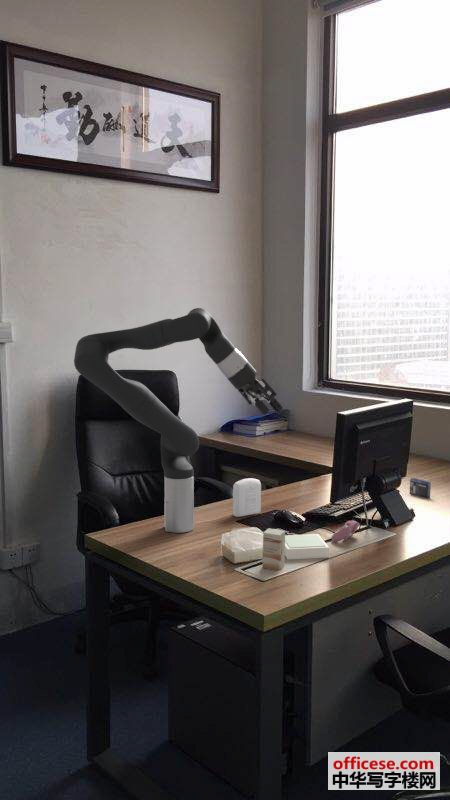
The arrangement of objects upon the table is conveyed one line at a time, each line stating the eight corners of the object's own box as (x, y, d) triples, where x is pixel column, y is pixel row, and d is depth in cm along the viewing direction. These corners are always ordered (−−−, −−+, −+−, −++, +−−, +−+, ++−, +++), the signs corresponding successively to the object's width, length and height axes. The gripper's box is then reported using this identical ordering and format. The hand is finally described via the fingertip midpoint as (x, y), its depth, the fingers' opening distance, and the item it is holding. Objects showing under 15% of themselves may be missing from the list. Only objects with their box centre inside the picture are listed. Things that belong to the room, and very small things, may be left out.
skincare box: (261, 568, 197) (262, 532, 196) (267, 562, 201) (267, 527, 199) (279, 571, 195) (280, 534, 193) (285, 565, 199) (285, 530, 197)
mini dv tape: (409, 493, 274) (410, 478, 273) (412, 493, 275) (412, 477, 274) (427, 498, 267) (428, 482, 266) (430, 497, 268) (430, 481, 267)
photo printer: (255, 510, 252) (255, 475, 250) (262, 513, 248) (263, 478, 246) (230, 515, 246) (230, 479, 244) (238, 518, 242) (238, 482, 241)
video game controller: (341, 548, 217) (352, 530, 214) (329, 540, 219) (339, 521, 216) (354, 539, 225) (364, 521, 223) (342, 531, 227) (351, 513, 225)
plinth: (287, 559, 203) (287, 548, 203) (278, 545, 215) (278, 535, 215) (329, 557, 205) (329, 546, 205) (317, 543, 217) (318, 533, 216)
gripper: (217, 380, 205) (254, 422, 208) (237, 374, 192) (275, 419, 195) (235, 363, 207) (270, 405, 211) (255, 355, 194) (293, 400, 197)
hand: (273, 411), depth 203 cm, fingers open, 8 cm apart
